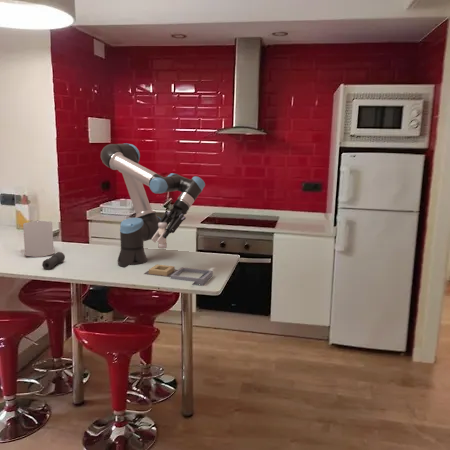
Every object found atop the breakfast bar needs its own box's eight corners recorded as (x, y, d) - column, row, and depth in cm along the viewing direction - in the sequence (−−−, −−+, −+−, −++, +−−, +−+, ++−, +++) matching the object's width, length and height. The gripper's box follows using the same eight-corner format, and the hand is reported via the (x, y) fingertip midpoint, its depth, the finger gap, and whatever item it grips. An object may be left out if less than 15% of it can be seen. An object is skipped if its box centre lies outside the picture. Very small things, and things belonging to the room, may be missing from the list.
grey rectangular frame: (170, 281, 218) (170, 275, 217) (181, 273, 231) (181, 267, 231) (203, 285, 214) (203, 279, 213) (212, 276, 227) (212, 270, 226)
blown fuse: (156, 248, 223) (156, 223, 221) (160, 246, 227) (160, 221, 224) (164, 248, 222) (164, 224, 220) (168, 246, 226) (168, 222, 223)
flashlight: (52, 270, 231) (51, 260, 230) (41, 270, 232) (40, 259, 230) (65, 261, 246) (64, 252, 245) (55, 261, 247) (54, 251, 245)
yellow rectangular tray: (143, 276, 224) (143, 269, 223) (153, 269, 235) (153, 263, 235) (170, 280, 220) (170, 273, 219) (179, 272, 231) (179, 266, 231)
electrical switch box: (53, 253, 270) (51, 218, 268) (54, 256, 256) (51, 219, 254) (26, 255, 264) (24, 220, 263) (25, 258, 251) (22, 221, 249)
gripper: (198, 211, 226) (171, 250, 218) (176, 206, 237) (149, 242, 229) (190, 201, 221) (162, 240, 213) (168, 196, 233) (140, 233, 224)
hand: (156, 241), depth 221 cm, fingers closed on blown fuse, 4 cm apart
